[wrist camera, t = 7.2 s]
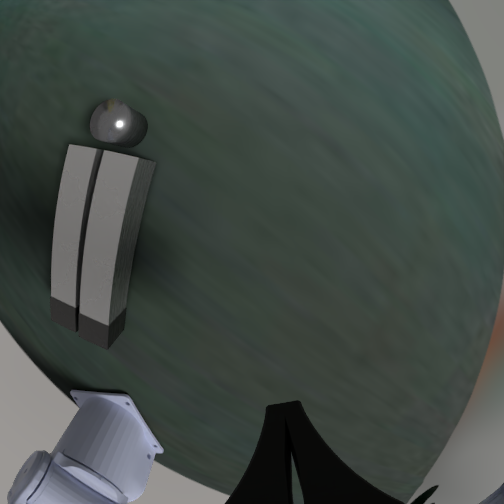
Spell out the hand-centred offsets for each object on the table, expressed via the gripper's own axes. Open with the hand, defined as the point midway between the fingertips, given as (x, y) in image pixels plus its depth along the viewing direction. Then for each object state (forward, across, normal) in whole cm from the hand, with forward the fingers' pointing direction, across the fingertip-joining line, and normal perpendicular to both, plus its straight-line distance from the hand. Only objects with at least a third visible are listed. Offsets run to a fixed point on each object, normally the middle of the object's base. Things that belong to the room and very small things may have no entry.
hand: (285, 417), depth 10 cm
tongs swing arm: (+9, +9, -7) cm, 15 cm away
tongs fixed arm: (+9, +11, -9) cm, 17 cm away
